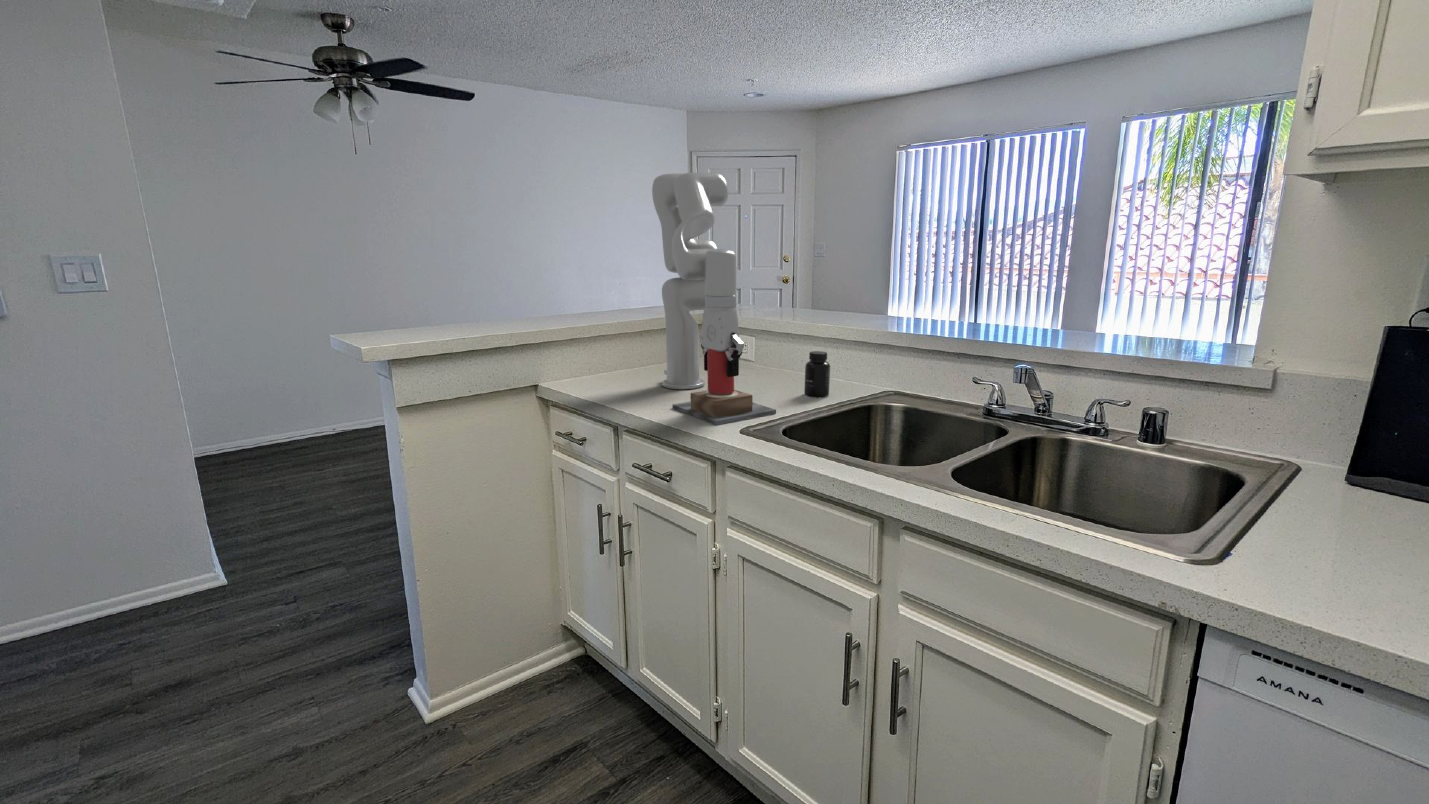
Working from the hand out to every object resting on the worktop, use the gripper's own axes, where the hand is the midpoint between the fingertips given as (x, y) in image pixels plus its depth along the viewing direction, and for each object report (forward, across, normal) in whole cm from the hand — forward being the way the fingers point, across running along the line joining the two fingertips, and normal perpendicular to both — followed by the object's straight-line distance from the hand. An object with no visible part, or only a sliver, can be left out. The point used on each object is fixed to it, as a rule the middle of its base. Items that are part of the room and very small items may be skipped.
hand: (721, 373), depth 164 cm
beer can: (+5, 0, 0) cm, 5 cm away
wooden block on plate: (+10, -2, +2) cm, 11 cm away
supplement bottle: (+10, -1, +33) cm, 35 cm away
